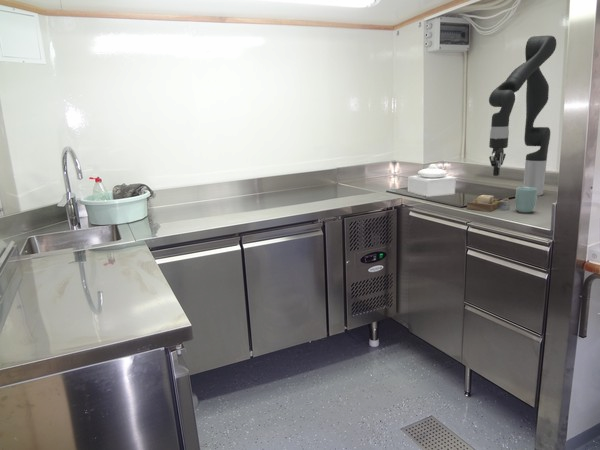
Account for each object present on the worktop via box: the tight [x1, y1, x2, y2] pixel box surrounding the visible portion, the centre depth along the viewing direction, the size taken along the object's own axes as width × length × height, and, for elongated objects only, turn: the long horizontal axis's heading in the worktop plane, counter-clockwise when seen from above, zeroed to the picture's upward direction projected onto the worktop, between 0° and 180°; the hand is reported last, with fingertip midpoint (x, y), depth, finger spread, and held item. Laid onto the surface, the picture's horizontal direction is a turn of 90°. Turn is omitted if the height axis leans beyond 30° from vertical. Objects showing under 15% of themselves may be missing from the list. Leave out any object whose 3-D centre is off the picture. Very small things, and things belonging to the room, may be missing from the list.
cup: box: [514, 186, 538, 214], centre depth 179 cm, size 8×8×10 cm
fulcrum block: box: [497, 200, 510, 211], centre depth 186 cm, size 4×3×4 cm
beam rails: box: [466, 197, 510, 213], centre depth 192 cm, size 22×10×3 cm, turn 136°
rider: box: [477, 194, 495, 204], centre depth 190 cm, size 5×5×5 cm
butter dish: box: [407, 163, 458, 198], centre depth 228 cm, size 18×18×16 cm
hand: (496, 175), depth 195 cm, fingers closed
